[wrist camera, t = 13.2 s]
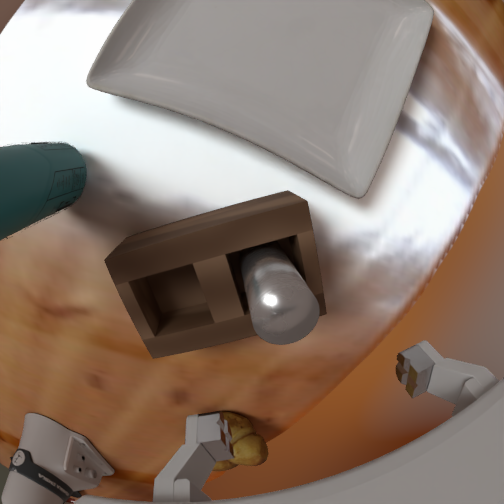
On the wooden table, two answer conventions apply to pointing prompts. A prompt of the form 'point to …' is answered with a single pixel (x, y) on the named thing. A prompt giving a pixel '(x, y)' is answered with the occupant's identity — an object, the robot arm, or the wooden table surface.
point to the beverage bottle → (37, 182)
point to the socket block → (208, 271)
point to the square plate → (276, 73)
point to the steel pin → (277, 295)
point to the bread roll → (243, 444)
